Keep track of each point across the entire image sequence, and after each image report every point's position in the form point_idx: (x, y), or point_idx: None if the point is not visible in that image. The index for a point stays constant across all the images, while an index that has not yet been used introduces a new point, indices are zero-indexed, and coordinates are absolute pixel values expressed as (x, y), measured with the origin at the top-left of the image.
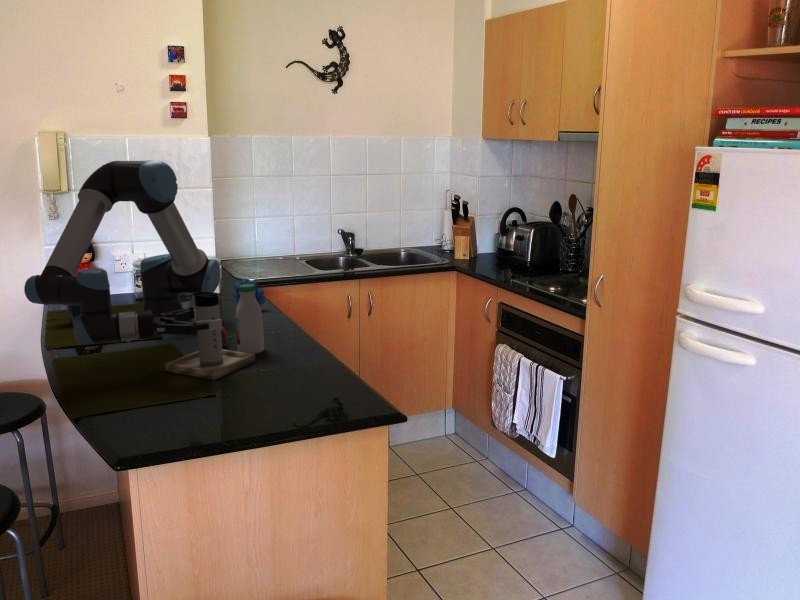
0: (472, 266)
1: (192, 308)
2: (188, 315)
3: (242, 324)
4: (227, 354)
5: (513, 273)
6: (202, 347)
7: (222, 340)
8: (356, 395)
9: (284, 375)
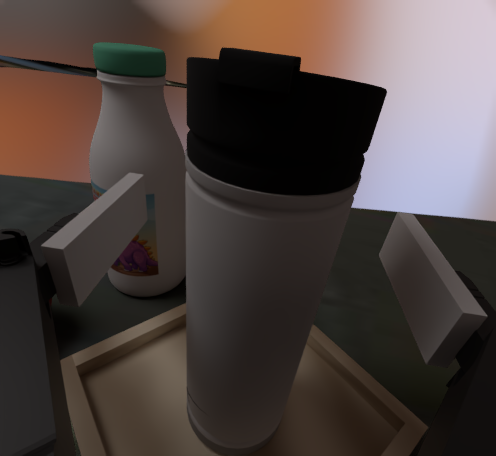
0: (24, 66)
1: (15, 244)
2: (46, 316)
3: (169, 208)
4: (174, 327)
5: (87, 71)
6: (282, 397)
7: (50, 299)
8: (490, 232)
9: (379, 272)
